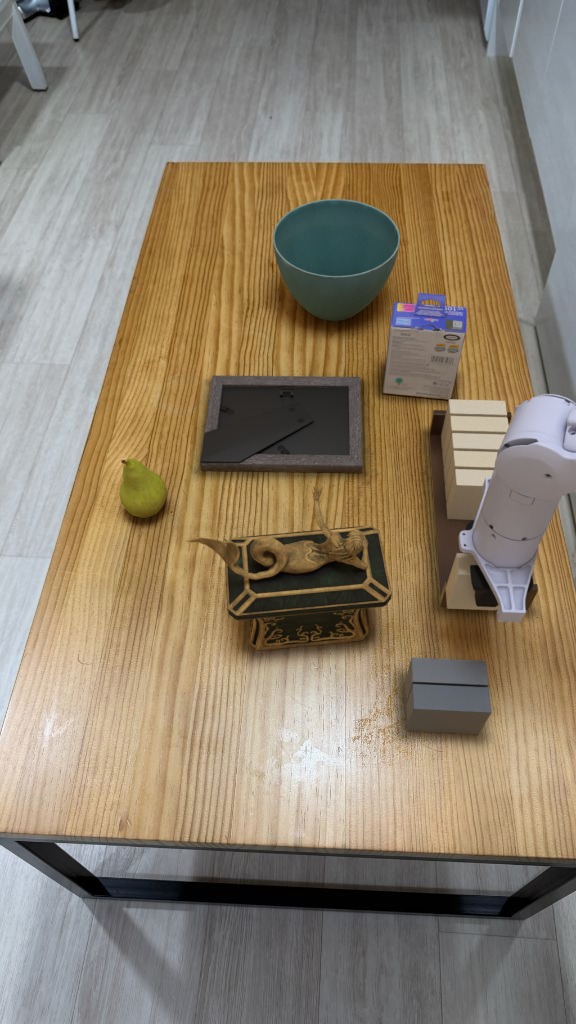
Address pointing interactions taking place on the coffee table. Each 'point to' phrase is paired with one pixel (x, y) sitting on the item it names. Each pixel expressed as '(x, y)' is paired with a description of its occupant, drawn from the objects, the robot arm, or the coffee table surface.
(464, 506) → the cream books
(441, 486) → the book rack
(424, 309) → the ink cartridge box
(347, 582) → the decorative box
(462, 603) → the cream book
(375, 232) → the teal bowl
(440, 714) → the grey books
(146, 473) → the fruit
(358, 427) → the picture frame
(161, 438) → the coffee table surface
